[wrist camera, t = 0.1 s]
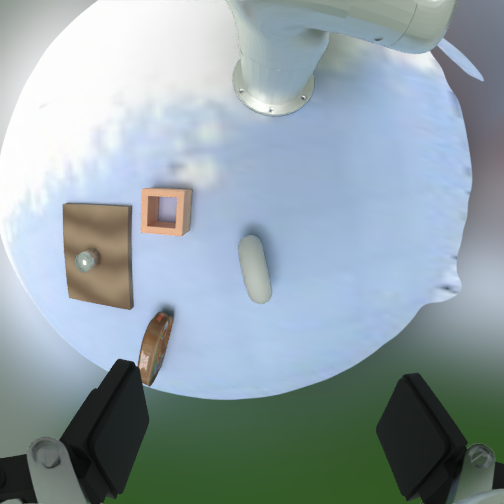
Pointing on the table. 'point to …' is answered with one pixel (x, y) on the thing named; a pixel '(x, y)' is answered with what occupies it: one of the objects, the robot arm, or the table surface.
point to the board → (109, 246)
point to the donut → (254, 269)
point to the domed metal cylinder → (87, 260)
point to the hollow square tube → (151, 211)
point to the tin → (154, 347)
